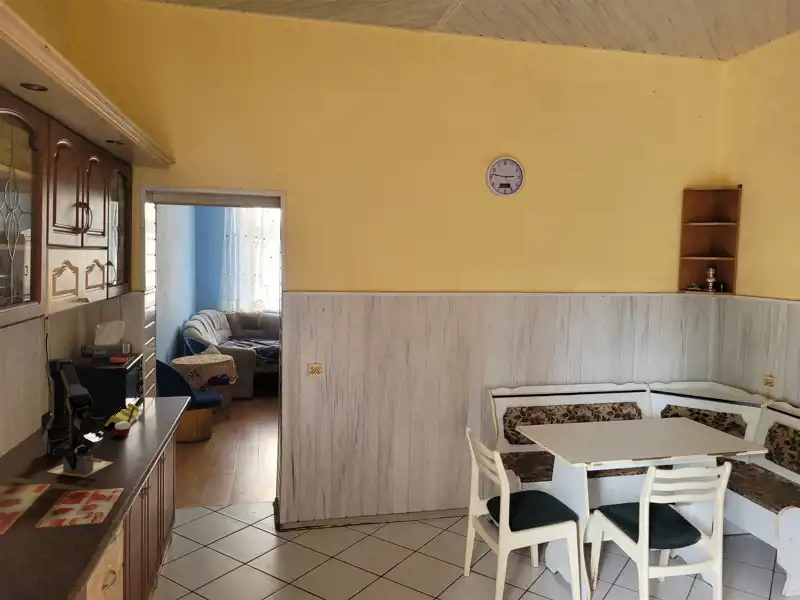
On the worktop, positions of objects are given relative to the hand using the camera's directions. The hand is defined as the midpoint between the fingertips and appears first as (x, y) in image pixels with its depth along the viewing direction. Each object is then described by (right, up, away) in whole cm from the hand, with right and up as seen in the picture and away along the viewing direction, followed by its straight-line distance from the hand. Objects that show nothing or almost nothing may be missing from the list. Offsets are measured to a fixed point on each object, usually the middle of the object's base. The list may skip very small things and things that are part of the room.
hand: (78, 467), depth 227 cm
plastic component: (-13, +3, +67) cm, 68 cm away
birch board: (-1, -2, +5) cm, 5 cm away
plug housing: (+2, -1, 0) cm, 3 cm away
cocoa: (-5, +1, +48) cm, 48 cm away
